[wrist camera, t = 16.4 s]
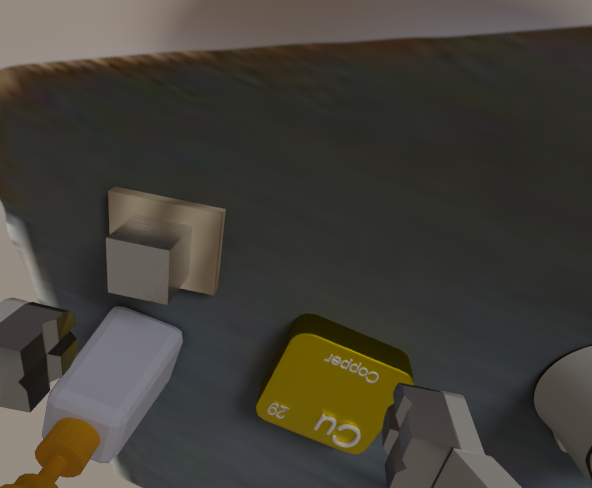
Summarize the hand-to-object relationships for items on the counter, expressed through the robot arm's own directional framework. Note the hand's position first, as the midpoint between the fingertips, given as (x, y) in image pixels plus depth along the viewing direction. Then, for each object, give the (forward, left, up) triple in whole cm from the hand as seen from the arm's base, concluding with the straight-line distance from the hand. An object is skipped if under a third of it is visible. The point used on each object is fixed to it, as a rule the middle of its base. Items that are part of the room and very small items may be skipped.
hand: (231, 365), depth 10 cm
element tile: (-8, +28, -32) cm, 43 cm away
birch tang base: (+14, +14, -31) cm, 37 cm away
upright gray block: (+14, +14, -30) cm, 35 cm away
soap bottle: (+17, +31, -31) cm, 47 cm away
